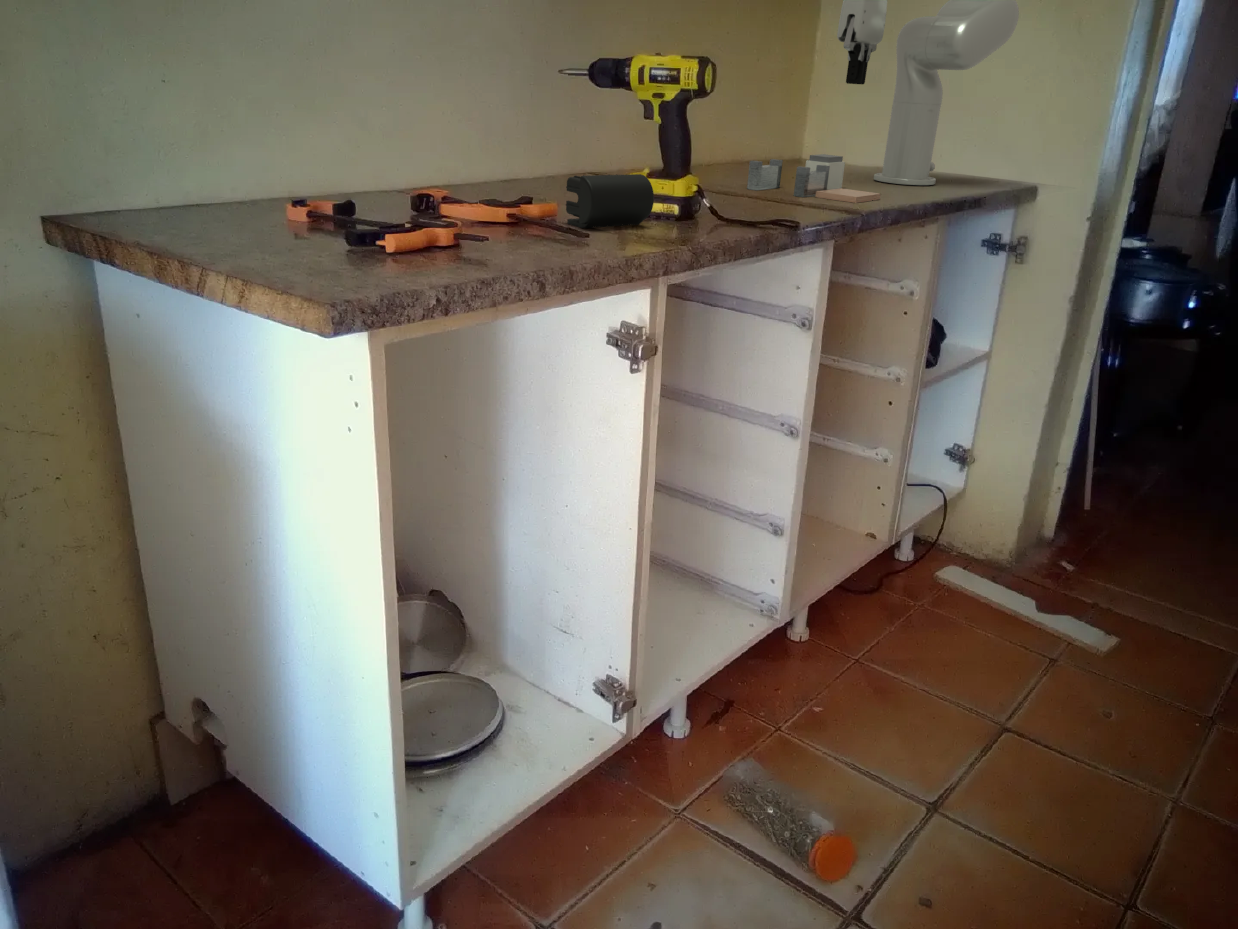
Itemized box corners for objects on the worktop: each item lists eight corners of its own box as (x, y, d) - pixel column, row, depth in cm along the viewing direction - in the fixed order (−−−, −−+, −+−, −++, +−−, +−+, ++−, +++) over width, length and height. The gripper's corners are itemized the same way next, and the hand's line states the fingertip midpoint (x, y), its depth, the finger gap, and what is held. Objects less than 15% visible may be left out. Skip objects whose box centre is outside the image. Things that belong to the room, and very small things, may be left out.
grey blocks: (770, 186, 180) (773, 158, 178) (826, 194, 173) (829, 165, 171) (746, 188, 174) (749, 160, 172) (803, 197, 167) (806, 167, 165)
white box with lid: (818, 185, 186) (822, 153, 184) (841, 188, 183) (845, 156, 181) (802, 187, 182) (806, 154, 180) (825, 190, 179) (830, 157, 177)
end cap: (591, 232, 123) (593, 178, 120) (562, 223, 128) (564, 172, 125) (653, 228, 128) (656, 176, 126) (623, 220, 133) (625, 170, 131)
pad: (840, 193, 175) (841, 188, 174) (879, 199, 170) (880, 193, 170) (815, 196, 168) (816, 191, 168) (855, 202, 164) (856, 196, 163)
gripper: (870, -20, 181) (856, 83, 188) (831, -28, 170) (817, 81, 178) (907, -20, 176) (890, 85, 184) (869, -29, 166) (853, 84, 173)
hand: (855, 83), depth 181 cm, fingers closed
